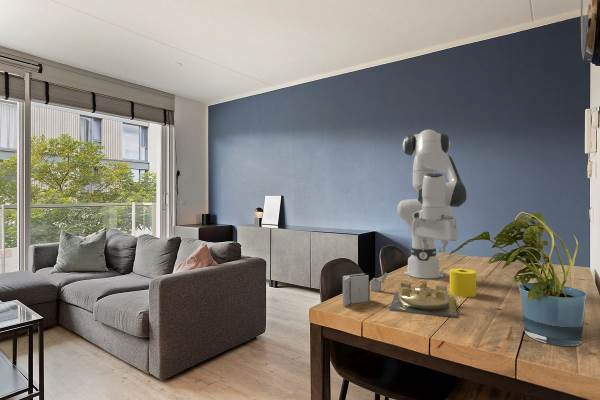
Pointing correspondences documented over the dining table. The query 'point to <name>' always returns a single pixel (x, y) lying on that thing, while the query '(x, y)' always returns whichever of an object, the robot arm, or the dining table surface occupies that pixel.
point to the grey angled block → (377, 283)
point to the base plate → (448, 311)
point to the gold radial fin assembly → (423, 296)
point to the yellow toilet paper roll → (463, 282)
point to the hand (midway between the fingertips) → (433, 250)
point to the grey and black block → (356, 288)
